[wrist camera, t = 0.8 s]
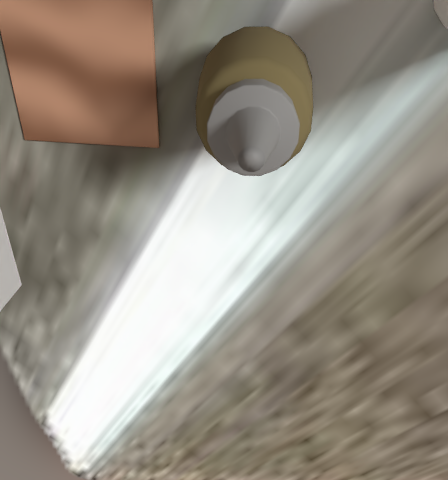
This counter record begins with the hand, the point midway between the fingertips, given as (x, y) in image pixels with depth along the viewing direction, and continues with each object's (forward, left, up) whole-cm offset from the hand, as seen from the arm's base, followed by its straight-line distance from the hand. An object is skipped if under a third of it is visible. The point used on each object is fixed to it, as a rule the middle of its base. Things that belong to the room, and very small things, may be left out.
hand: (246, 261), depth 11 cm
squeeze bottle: (0, 0, -26) cm, 26 cm away
